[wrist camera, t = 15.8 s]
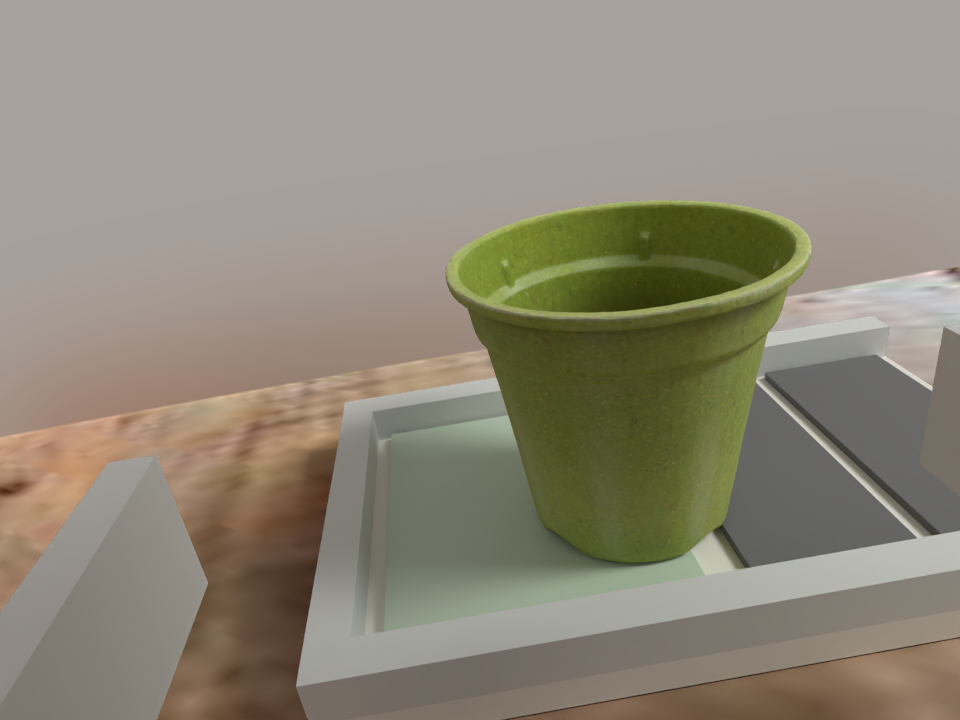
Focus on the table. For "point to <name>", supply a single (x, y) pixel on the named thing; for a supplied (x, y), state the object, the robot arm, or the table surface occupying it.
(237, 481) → the table surface
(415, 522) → the box
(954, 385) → the robot arm
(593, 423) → the plant pot
